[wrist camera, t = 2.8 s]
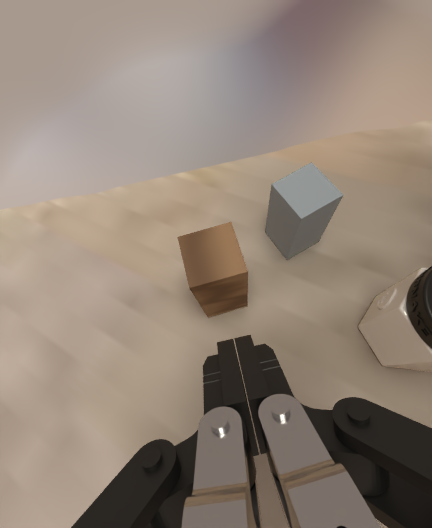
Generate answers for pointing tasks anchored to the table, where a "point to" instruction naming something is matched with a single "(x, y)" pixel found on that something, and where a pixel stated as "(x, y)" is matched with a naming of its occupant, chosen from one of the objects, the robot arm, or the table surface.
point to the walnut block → (215, 269)
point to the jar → (402, 323)
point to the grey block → (300, 209)
